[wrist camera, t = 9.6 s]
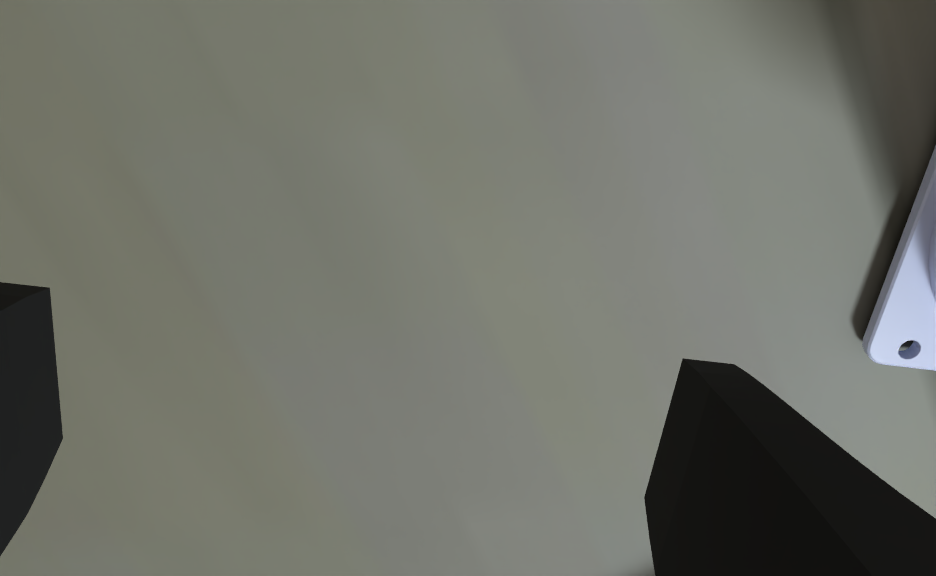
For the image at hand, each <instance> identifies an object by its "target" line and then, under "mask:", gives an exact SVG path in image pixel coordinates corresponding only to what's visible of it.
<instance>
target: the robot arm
mask: <svg viewBox="0 0 936 576" xmlns="http://www.w3.org/2000/svg"><path fill="white" fill-rule="evenodd" d="M910 340H913V344H912V345H911V346H910V348H908V349H906V350H904V351H899V347H900V346H901V345H902V344H903V343H905V342H906V341H910ZM862 345H863V348H864V351H865V352H866V354H867V355H868V356H869V358H871V359H872V360H873V361H874V362H876V363H879V364H884V365H892V366H901V367H910V368H918V369H927V370H935V371H936V146H935V149H934V151H933V154H932V157H931V159H930V162H929V165H928V167H927V170H926V172H925V175H924V178H923V180H922V183H921V186H920V188H919V191H918V194H917V196H916V199H915V202H914V204H913V207H912V210H911V212H910V215H909V218H908V220H907V223H906V226H905V228H904V231H903V234H902V236H901V239H900V242H899V244H898V247H897V250H896V252H895V255H894V257H893V260H892V263H891V265H890V268H889V271H888V273H887V276H886V279H885V281H884V284H883V287H882V289H881V292H880V295H879V297H878V300H877V303H876V305H875V308H874V311H873V313H872V316H871V319H870V321H869V324H868V327H867V329H866V332H865V335H864V337H863V343H862ZM62 439H63V435H62V423H61V412H60V401H59V389H58V378H57V366H56V355H55V343H54V332H53V320H52V309H51V297H50V288H47V287H38V286H29V285H20V284H11V283H2V282H0V556H1V554H2V553H3V551H4V550H5V548H6V547H7V545H8V543H9V542H10V540H11V539H12V537H13V536H14V534H15V533H16V531H17V530H18V528H19V526H20V525H21V523H22V522H23V520H24V518H25V517H26V515H27V514H28V512H29V510H30V508H31V506H32V504H33V502H34V500H35V498H36V495H37V493H38V491H39V489H40V487H41V485H42V483H43V481H44V479H45V477H46V475H47V473H48V470H49V468H50V466H51V464H52V461H53V459H54V457H55V455H56V452H57V450H58V448H59V446H60V444H61V441H62ZM644 499H645V506H646V514H647V522H648V530H649V538H650V544H651V551H652V557H653V564H654V570H655V575H656V576H936V519H935V518H934V517H933V516H931V515H930V514H928V513H927V512H926V511H924V510H923V509H921V508H920V507H919V506H917V505H916V504H915V503H913V502H912V501H910V500H909V499H908V498H906V497H905V496H903V495H902V494H901V493H899V492H898V491H897V490H895V489H894V488H893V487H891V486H890V485H889V484H887V483H886V482H885V481H883V480H882V479H881V478H879V477H878V476H877V475H876V474H874V473H873V472H872V471H870V470H869V469H868V468H866V467H865V466H864V465H863V464H861V463H860V462H859V461H858V460H856V459H855V458H854V457H852V456H851V455H850V454H849V453H847V452H846V451H845V450H844V449H842V448H841V447H840V446H839V445H837V444H836V443H835V442H834V441H832V440H831V439H830V438H829V437H827V436H826V435H825V434H824V433H823V432H821V431H820V430H819V429H818V428H816V427H815V426H814V425H813V424H811V423H810V422H809V421H808V420H807V419H805V418H804V417H803V416H802V415H800V414H799V413H798V412H797V411H795V410H794V409H793V408H792V407H791V406H789V405H788V404H787V403H786V402H784V401H783V400H782V399H781V398H779V397H778V396H777V395H776V394H774V393H773V392H772V391H771V390H769V389H768V388H767V387H766V386H764V385H763V384H762V383H760V382H759V381H758V380H756V379H755V378H754V377H752V376H751V375H750V374H748V373H747V372H745V371H744V370H742V369H741V368H739V367H738V366H736V365H734V364H727V363H718V362H709V361H700V360H691V359H683V360H682V363H681V367H680V370H679V374H678V378H677V381H676V385H675V389H674V392H673V396H672V399H671V403H670V407H669V410H668V414H667V418H666V421H665V425H664V428H663V432H662V436H661V439H660V443H659V447H658V450H657V454H656V457H655V461H654V465H653V468H652V472H651V475H650V479H649V483H648V486H647V490H646V494H645V497H644Z"/></svg>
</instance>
